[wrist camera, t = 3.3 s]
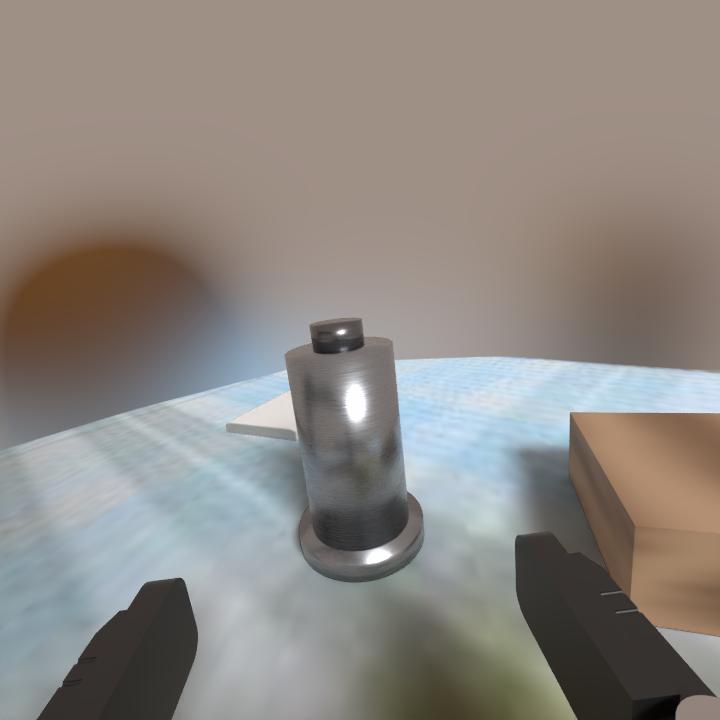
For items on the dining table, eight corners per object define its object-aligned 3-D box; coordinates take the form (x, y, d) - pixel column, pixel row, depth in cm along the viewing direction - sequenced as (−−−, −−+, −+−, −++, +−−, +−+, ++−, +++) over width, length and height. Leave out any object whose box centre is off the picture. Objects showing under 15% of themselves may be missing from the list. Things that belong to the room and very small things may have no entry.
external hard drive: (228, 437, 36) (302, 394, 46) (298, 447, 32) (362, 397, 43) (224, 421, 35) (300, 381, 46) (295, 429, 32) (360, 383, 42)
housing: (279, 570, 18) (234, 340, 15) (329, 493, 24) (303, 316, 21) (413, 592, 16) (387, 330, 13) (431, 501, 22) (416, 307, 19)
